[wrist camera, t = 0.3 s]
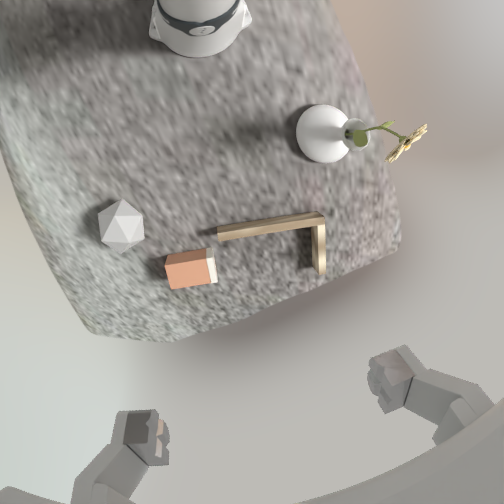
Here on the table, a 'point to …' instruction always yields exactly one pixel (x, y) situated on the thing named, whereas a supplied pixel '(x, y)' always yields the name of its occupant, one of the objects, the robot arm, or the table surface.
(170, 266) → the block
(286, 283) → the table surface
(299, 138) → the flower in vase
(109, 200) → the table surface
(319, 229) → the wooden corner bracket
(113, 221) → the die
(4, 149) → the table surface
